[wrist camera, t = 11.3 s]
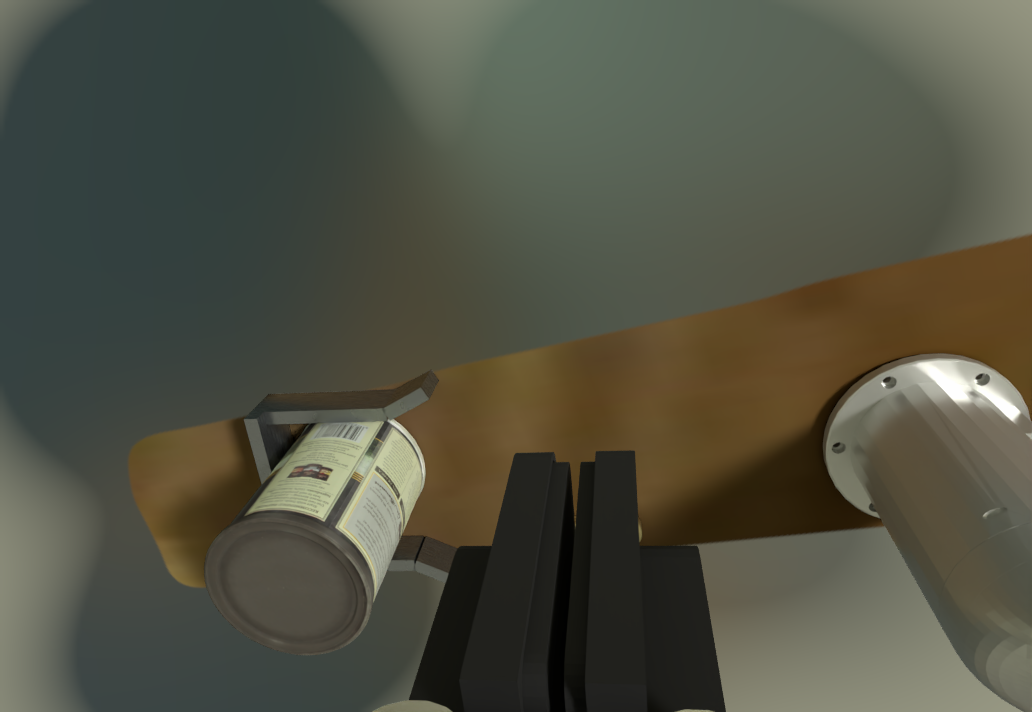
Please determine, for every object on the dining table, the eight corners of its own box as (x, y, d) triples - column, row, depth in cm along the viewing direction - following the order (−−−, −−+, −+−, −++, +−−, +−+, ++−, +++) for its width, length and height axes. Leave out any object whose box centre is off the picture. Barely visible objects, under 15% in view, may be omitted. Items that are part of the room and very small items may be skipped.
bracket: (437, 369, 51) (423, 393, 47) (466, 560, 58) (456, 595, 54) (264, 376, 53) (238, 400, 50) (311, 560, 60) (292, 594, 56)
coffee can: (341, 535, 58) (263, 673, 45) (273, 431, 55) (169, 548, 42) (451, 497, 55) (401, 633, 43) (386, 386, 52) (311, 496, 39)
